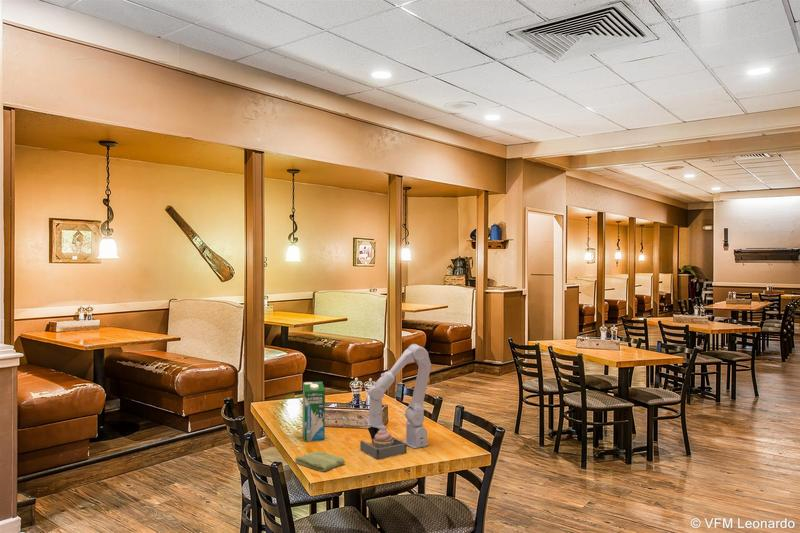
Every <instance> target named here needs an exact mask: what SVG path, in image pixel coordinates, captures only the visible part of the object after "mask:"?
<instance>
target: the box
mask: <svg viewBox="0 0 800 533" xmlns="http://www.w3.org/2000/svg"><path fill="white" fill-rule="evenodd" d="M392 439H393V440H394V442H393V444H392V446H389V447H385V448H380V449H377V448H375V446H374V445H373V444H369V443H368V442H366V441H364V440H360V445H359V446H360V451H362V452H363V453H365V454H366V455H368V454H369V456H370V457H371V458H374V459H376V460H380V459H381V458H382V459H386V458H390V456H391V457H394V456H400V455H403V453H404V454H407V446H408V445H407V444H406V443H404V441H402V440H400V439H398V438H396V437H394V436H392ZM399 454H400V455H399ZM385 457H386V458H385Z"/></svg>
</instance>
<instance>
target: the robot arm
mask: <svg viewBox="0 0 800 533" xmlns="http://www.w3.org/2000/svg"><path fill="white" fill-rule="evenodd" d="M411 363H416V364H417V366H418V370H417V375H416V379H415V385H414V388H413V392H412V397H411V401H410V402H409V403H408V406H407V408H406V410H405V412H404V416H405V418H406V420H407V421H406V422H405V423H406V424H405V425H406V427H405V428H406V430H405V432H406V434H405V441H404V440H403V442H404V443H406V444H407V446H408V447H410V448H412V449H419V448H424V447H428V446H429V443H428V432H427V428H425V427H424V425H423V423H424V421H425V414H424V413H425V408H424V401H425V397H426V392H427V387H428V382H429V377H430V373H431V367H432V363H431V359H430V356H429V352H428V351H427V349H426V348H424V347H423V346H421V345H418V344H417V343H412V344H410V345H409V346H408V347H407V348H406V349H405V350H404V351H403V353H402V354H401V355H400V357H399V358H398V359H397V360H396V362H395V363H394V365H393V366H392V367H391V368H390V370H388V371H385V372H382V373H381V374H380V377H379V378H378V379H377V380H376V381H375V382H374V383H373V384H372V385H370V386H369V387H368V390H367V395H368V396H369V398H368V400H369V402H368V418H366V419H364V424H365V425H366V426H367V427H368V428H367V430H368V433H369V434H370V439H371V443H372V446H374V444H373V439H375V438H374V437H375V435H376V434H377V433H378V431H379V430H380V429H381V430H382V431H384V430H385V431H387V426H386V425H384V423H383V398H384V396H385V392H386V391H387V390H388V389H389V388H390V387H391V386H392V384H393V383H394V382H395V381H396V380H395V379H396V378H395V377H396V376H397V375H398V374H399V372H401V370H402V369H403V368H405V366H406V365H407V364H411Z"/></svg>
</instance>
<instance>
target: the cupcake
mask: <svg viewBox="0 0 800 533" xmlns="http://www.w3.org/2000/svg"><path fill="white" fill-rule="evenodd" d="M392 437H393V436H392V435H391V433H390V432H389V431H387V430H386V431H385V430H384V431H382V430H381V429H380V430H379V431H378V433H377V434H376V435H375V437H374V438H375V439H373V443H372V445H373V444H374V445H373V447H375V448H377V449H380V448H385V447H389V446H392V444H393V442H394V440H393V439H392Z"/></svg>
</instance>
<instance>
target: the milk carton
mask: <svg viewBox="0 0 800 533" xmlns="http://www.w3.org/2000/svg"><path fill="white" fill-rule="evenodd" d="M323 383H324V382H323V381H305V382H304V381H303V383H302V438H303V440H304V442H317V441H319V442H320V441H325V438H326V437H325V434H326V433H325V428H326V427H325V426H326V425H325V424H326V422H325V420H326V418H325V417H326V415H325V414H326V413H325V411H326V409H325V408H326V405H325V404H326V390H325V387H324V384H323Z"/></svg>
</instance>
